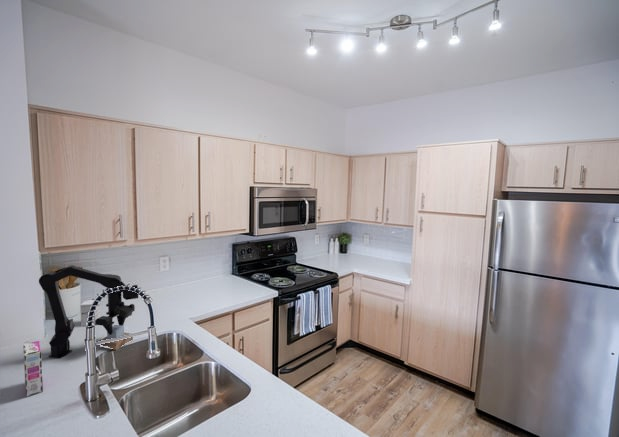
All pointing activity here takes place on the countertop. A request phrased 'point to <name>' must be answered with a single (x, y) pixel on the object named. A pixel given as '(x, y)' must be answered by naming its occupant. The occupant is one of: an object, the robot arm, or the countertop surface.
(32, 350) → the candy bar box
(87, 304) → the supplement box
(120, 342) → the walnut block
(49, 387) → the countertop surface
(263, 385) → the countertop surface
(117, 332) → the slate cube
